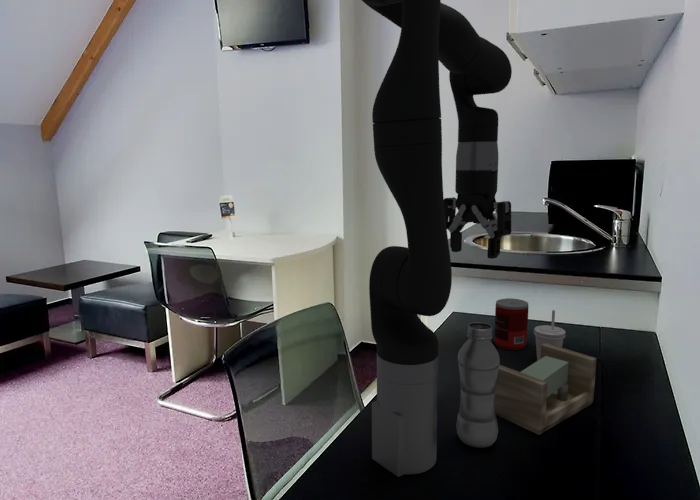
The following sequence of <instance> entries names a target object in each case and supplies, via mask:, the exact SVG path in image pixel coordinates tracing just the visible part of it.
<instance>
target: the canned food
mask: <svg viewBox="0 0 700 500" xmlns="http://www.w3.org/2000/svg"><path fill="white" fill-rule="evenodd" d="M494 309H495V313H494V337H493V338H494V340H493V341H494V344H495V345H494V346H496V347H498V348H500V349H502V350H507V351H519V350H522V349H525V348H526V345H527V343H528V342H527V341H528V327H529V326H528V324H529V323H528V322H529V302H528V301H526V300H524V299H520V298H511V297H510V298H508V297H507V298H500V299H497V300H496V301H495V308H494Z"/></svg>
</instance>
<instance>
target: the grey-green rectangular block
mask: <svg viewBox="0 0 700 500" xmlns="http://www.w3.org/2000/svg"><path fill="white" fill-rule="evenodd" d="M568 365H569V362H566V361H563V360H559V359H555V358H552V357H548V356H544V357H543V358H541V359H540V360H538V361H537V360H536V361H535V362H534V363H532V364H531V365H529V366H527V367H526V368H525V369H523V370H521V371H520V372H521V373H524V374H526V375H529V376H532V377H535V378H537V379H540V380H543V381H546V382H548V383H547V397H548V396H550V395H551V394H552V393H554V392H555V391H556V390H558V389H559V388H560V387H561V386H563V385H564V384H565V383H567V379H568Z"/></svg>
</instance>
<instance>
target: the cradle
mask: <svg viewBox="0 0 700 500" xmlns="http://www.w3.org/2000/svg"><path fill="white" fill-rule="evenodd" d="M544 356H548V357H552V358H555V359H559V360H563V361H566V362H569V365H568V379H567V383H565V384H564V385H563V386H561V387H560V388H559V389H558V390H556V391H555V392H554V393H552V394H551V395H550V396H548V397H547V383H548V382H546V381H543V380H540V379H537V378H535V377H532V376H529V375H526V374H524V373H521V371H519V370H517V369H512V368H510V367H508V366H505V365H502V364H499V370H498V375H497V380H496V390H495V411H496V417H497V416H498V417H500V418H502V419H503V420H507V421H509V422H510V423H512V424H515V425H517V426H519V427H521V428H523V429H526V430H528V431H530V432H531V433H535V434H536V435H538V436H539V435H541V434H543V433H545V432H547V431H548V430H550V429H552V428H553V427H555V426H556V425H558V424H561V422H563V421H565V420H567V419H568V418H570V417H572V416H573V415H575V414H577V413H579V412H581V411H582V410H584V409H586V408H587V407H589V406H591V405H592V404H594V396H595V394H594V393H595V384H596V383H595V382H596V371H597V369H596V368H597V359H598V358H597V357H594V356H590V355H587V354H584V353H580V352H576V351H573V350H570V349H568V348H564V347H562V348H561V347H558V346H555V345H551V344H548V343H544V344H542V345H541V358H543V357H544Z"/></svg>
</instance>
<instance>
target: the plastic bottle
mask: <svg viewBox="0 0 700 500" xmlns="http://www.w3.org/2000/svg"><path fill="white" fill-rule="evenodd" d="M466 337H467V338H468V339H467V340H466V341H465V342H464V343H463V345H462V346H461V347H460V349H459V351H458V354H457V363H458V371H459V379H460V380H459V383H460V398H459V408H458V409H459V410H458V414H457V417H456V423H455V426H456V427H455V428H456V434H457V437H458V438H459V439H460V441H461V442H462V443H464V444H465V445H467V446H469V447H472V448H477V449H485V448H489V447H491V446H493V444H494V443H495V442H496V441H497V437H498V434H499V427H498V419H497V418H498V417H497V415H496V411H495V390H496V380H497V375H498V370H499V365H501V364H500V363H501V359H500V354H499V352H498V350H497V349H496V347H495V345H494V344H493V343H492V339H493V325H491V324H489V323H487V322H486V323H485V322H477V321H476V322H470V323H469V324H468V326H467V332H466Z"/></svg>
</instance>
